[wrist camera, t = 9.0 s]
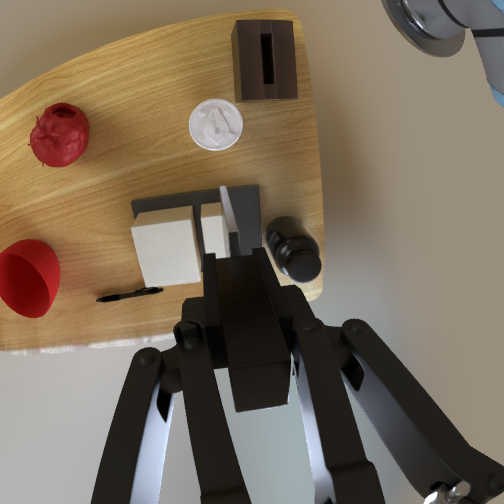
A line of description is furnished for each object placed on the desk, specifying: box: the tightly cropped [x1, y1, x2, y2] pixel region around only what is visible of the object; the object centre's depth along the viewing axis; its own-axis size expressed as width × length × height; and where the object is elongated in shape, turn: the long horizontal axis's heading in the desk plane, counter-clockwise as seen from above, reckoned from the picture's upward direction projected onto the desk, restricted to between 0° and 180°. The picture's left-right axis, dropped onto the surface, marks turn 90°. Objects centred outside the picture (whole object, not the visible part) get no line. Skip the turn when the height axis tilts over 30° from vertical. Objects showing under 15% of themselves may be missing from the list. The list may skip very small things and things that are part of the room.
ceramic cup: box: [0, 239, 60, 318], centre depth 41 cm, size 13×17×10 cm
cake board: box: [131, 184, 262, 272], centre depth 47 cm, size 20×14×1 cm
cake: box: [131, 206, 201, 288], centre depth 44 cm, size 9×10×6 cm
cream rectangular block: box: [201, 202, 226, 259], centre depth 45 cm, size 4×10×6 cm, turn 3°
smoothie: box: [189, 99, 243, 151], centre depth 34 cm, size 6×6×14 cm
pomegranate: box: [28, 103, 89, 167], centre depth 33 cm, size 10×10×9 cm
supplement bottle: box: [265, 216, 322, 283], centre depth 45 cm, size 7×7×12 cm
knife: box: [216, 186, 291, 413], centre depth 18 cm, size 2×6×18 cm, turn 3°
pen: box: [96, 287, 163, 302], centre depth 50 cm, size 14×2×1 cm, turn 98°
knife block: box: [231, 20, 298, 103], centre depth 34 cm, size 7×11×8 cm, turn 3°
